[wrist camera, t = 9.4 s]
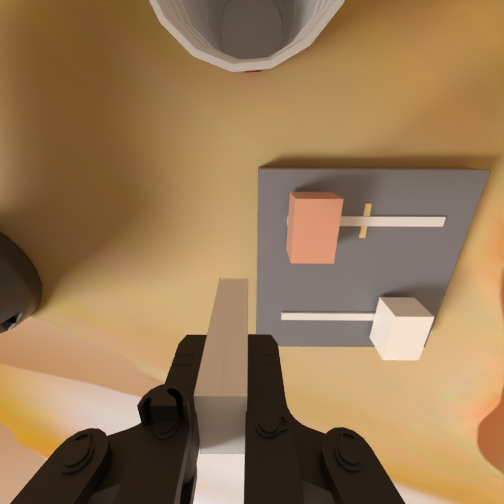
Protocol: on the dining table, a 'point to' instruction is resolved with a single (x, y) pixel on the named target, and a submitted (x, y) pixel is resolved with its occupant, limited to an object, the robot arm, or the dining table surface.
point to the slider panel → (360, 248)
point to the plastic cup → (245, 29)
